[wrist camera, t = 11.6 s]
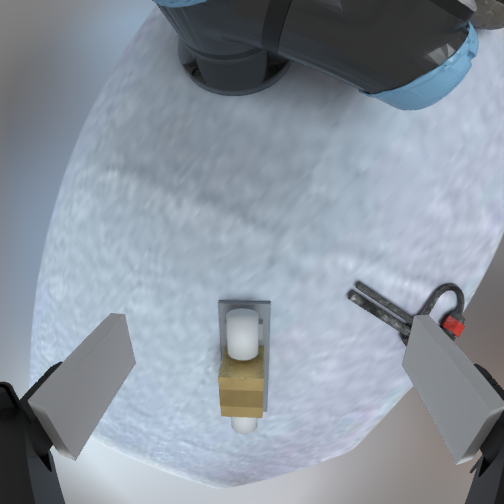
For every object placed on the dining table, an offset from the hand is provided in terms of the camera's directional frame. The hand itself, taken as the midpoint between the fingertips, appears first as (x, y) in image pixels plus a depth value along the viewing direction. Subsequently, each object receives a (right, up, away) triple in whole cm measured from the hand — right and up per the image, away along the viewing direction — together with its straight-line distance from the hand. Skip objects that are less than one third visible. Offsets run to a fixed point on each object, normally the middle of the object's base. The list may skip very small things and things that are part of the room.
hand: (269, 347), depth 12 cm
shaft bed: (-2, -12, +31) cm, 34 cm away
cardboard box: (-2, -13, +30) cm, 33 cm away
